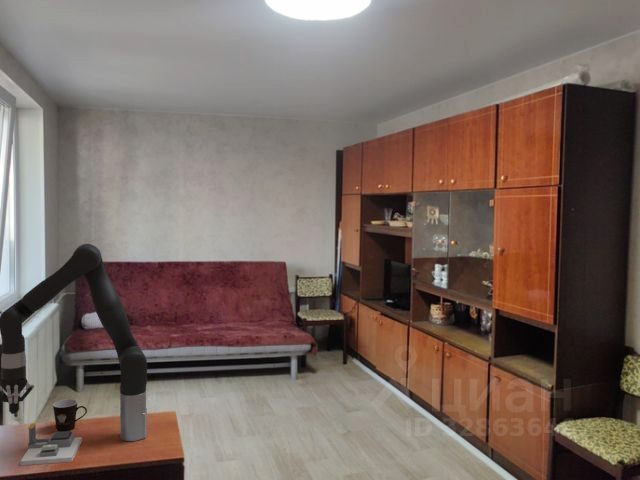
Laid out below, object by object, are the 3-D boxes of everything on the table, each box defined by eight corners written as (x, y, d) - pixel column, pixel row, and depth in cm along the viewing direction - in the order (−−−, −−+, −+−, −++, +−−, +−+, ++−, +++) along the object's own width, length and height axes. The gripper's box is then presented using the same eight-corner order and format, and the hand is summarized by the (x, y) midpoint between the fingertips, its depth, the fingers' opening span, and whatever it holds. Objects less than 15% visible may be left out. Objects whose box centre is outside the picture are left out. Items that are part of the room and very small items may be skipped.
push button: (70, 438, 201) (70, 430, 201) (67, 445, 196) (67, 437, 196) (55, 440, 200) (55, 431, 200) (51, 446, 195) (51, 438, 195)
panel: (81, 441, 203) (81, 430, 203) (72, 461, 188) (71, 450, 187) (34, 444, 200) (34, 433, 199) (20, 465, 184) (20, 454, 184)
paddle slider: (36, 441, 198) (36, 423, 197) (34, 446, 194) (33, 427, 194) (30, 442, 197) (30, 423, 197) (28, 446, 194) (27, 427, 193)
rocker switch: (57, 447, 191) (57, 443, 191) (55, 449, 189) (55, 446, 189) (43, 448, 190) (43, 444, 190) (41, 450, 188) (41, 447, 188)
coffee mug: (48, 430, 211) (47, 405, 211) (66, 422, 219) (65, 397, 219) (71, 436, 207) (71, 410, 206) (88, 427, 215) (88, 402, 214)
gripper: (-12, 368, 187) (-11, 418, 189) (31, 366, 190) (31, 416, 191) (-4, 362, 195) (-3, 410, 196) (37, 360, 197) (37, 407, 199)
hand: (14, 412), depth 194 cm, fingers closed
